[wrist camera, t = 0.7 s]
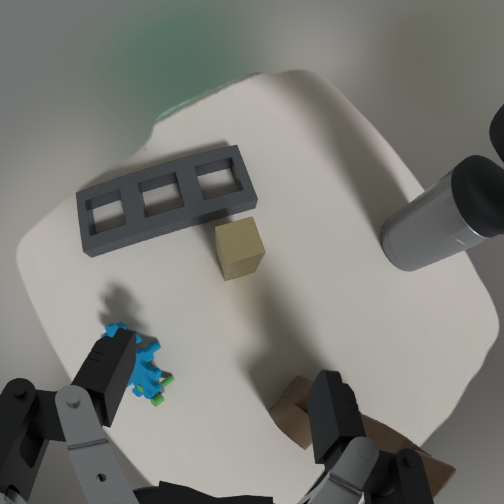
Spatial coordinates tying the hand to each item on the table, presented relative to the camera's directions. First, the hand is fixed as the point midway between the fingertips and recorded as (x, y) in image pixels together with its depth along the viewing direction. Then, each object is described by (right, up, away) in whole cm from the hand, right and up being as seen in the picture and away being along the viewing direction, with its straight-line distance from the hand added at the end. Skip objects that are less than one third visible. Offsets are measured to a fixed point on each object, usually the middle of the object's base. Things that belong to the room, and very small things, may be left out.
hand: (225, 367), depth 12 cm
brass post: (-1, +3, +28) cm, 29 cm away
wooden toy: (+11, -18, +24) cm, 32 cm away
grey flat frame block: (-11, +12, +30) cm, 34 cm away
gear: (-13, -9, +24) cm, 29 cm away
